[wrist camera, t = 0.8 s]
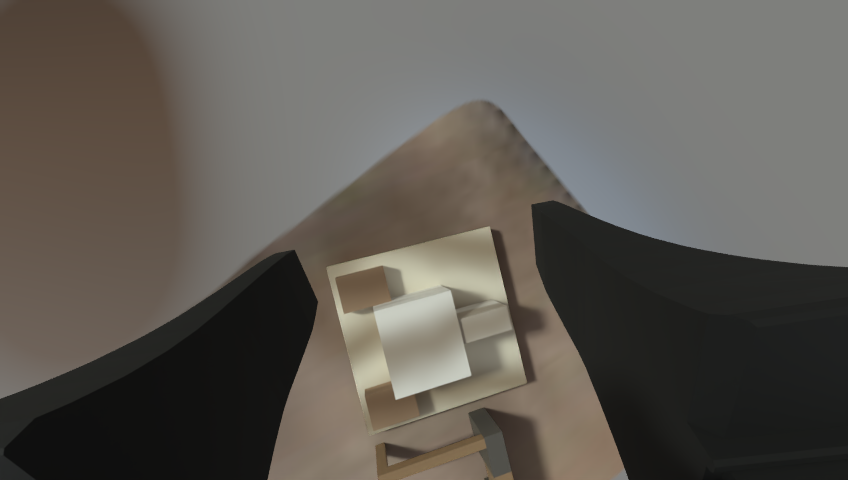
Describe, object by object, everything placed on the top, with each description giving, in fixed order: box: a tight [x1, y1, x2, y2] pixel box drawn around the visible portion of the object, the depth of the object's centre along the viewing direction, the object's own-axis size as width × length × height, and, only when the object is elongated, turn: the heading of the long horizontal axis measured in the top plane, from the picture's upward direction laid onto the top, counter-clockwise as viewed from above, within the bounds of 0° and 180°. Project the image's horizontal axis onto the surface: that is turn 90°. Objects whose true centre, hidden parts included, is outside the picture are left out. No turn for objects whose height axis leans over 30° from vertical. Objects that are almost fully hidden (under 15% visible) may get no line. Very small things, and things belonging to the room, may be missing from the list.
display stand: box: [326, 227, 527, 436], centre depth 31 cm, size 15×15×6 cm
